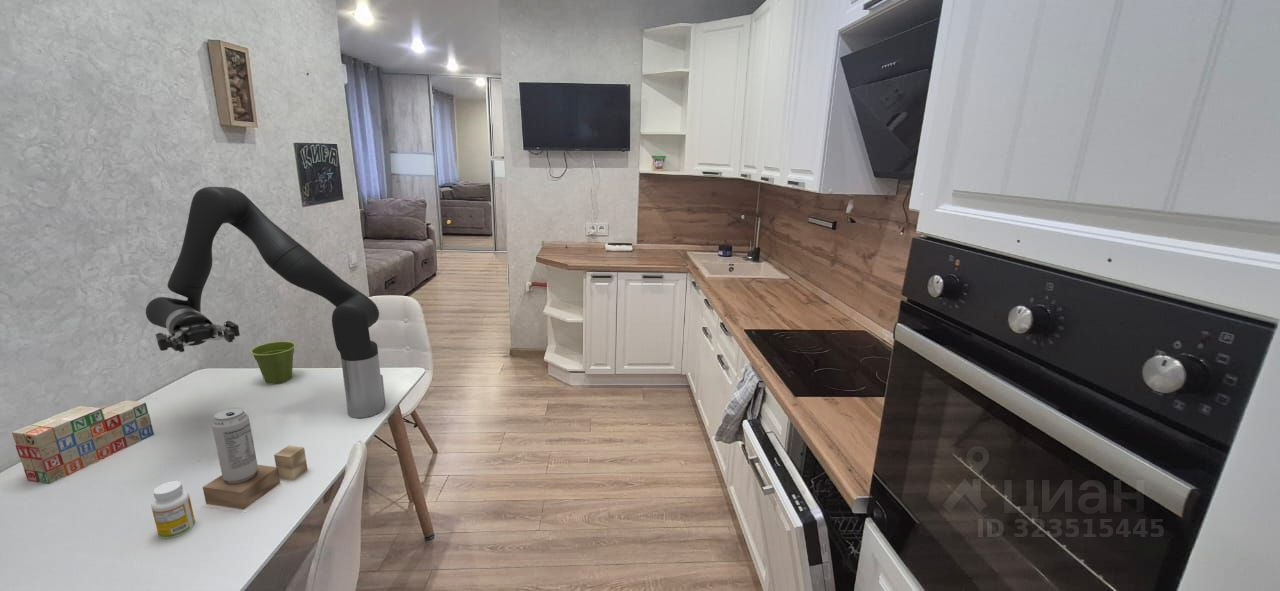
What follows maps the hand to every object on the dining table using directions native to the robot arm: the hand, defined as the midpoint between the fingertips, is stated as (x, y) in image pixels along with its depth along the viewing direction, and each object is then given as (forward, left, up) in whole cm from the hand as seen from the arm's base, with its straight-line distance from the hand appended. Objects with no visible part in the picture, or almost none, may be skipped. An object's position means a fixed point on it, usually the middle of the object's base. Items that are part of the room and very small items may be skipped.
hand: (206, 342), depth 114 cm
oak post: (+2, +19, -30) cm, 35 cm away
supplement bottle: (+22, +11, -30) cm, 39 cm away
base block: (+10, +14, -30) cm, 34 cm away
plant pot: (-41, -26, -30) cm, 57 cm away
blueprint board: (+8, +15, -30) cm, 35 cm away
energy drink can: (+10, +14, -26) cm, 31 cm away
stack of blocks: (+5, -32, -30) cm, 44 cm away
